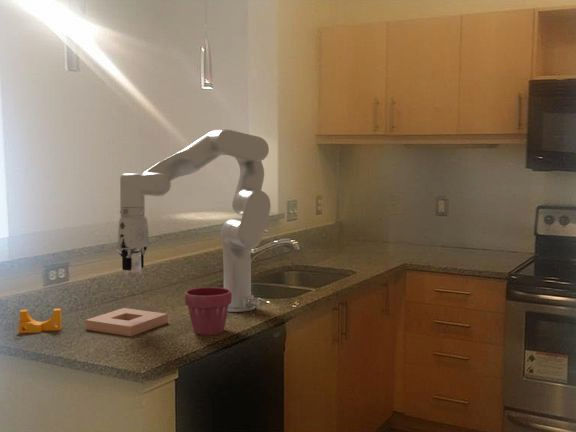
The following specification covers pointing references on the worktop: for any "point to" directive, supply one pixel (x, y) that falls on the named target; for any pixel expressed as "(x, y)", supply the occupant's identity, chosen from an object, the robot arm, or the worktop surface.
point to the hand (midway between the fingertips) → (133, 268)
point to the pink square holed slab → (126, 321)
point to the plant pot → (208, 309)
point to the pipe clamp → (35, 326)
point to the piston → (134, 262)
